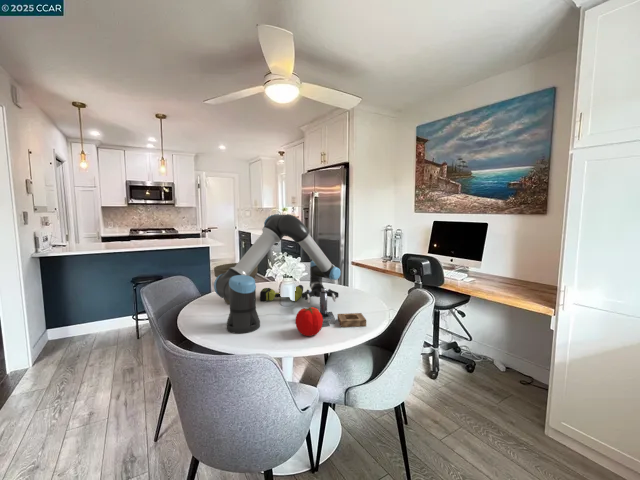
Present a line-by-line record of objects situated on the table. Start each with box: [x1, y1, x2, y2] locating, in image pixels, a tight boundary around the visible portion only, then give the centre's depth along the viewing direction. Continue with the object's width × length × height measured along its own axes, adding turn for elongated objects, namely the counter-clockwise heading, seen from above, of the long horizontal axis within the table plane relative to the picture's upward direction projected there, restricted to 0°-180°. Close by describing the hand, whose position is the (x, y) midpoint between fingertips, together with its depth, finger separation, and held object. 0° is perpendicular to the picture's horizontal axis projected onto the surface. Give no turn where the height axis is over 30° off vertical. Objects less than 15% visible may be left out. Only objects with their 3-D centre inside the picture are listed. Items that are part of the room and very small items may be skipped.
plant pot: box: [213, 262, 259, 305], centre depth 177 cm, size 25×25×22 cm
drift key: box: [322, 323, 331, 328], centre depth 139 cm, size 8×2×1 cm, turn 111°
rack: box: [336, 312, 367, 328], centre depth 143 cm, size 12×10×3 cm
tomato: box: [295, 306, 323, 337], centre depth 131 cm, size 12×13×12 cm
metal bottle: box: [319, 287, 328, 317], centre depth 146 cm, size 4×4×16 cm
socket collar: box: [322, 311, 336, 325], centre depth 147 cm, size 10×10×2 cm
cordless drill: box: [259, 284, 304, 303], centre depth 189 cm, size 7×25×25 cm
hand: (321, 299), depth 155 cm, fingers open, 13 cm apart
